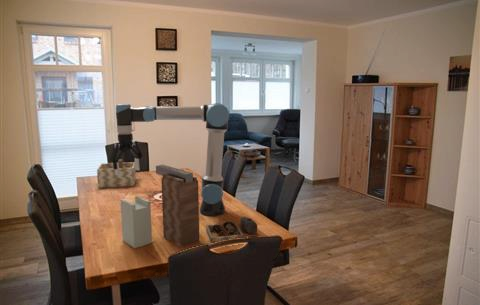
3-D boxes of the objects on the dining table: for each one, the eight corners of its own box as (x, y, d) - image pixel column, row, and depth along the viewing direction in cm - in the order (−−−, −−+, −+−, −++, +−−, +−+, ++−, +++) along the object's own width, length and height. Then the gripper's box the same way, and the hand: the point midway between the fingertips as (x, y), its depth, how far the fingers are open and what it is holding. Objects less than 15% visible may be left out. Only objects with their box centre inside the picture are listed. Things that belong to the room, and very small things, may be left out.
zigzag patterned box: (135, 178, 292) (135, 162, 289) (134, 185, 270) (133, 167, 267) (102, 180, 286) (101, 163, 283) (98, 187, 264) (97, 169, 261)
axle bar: (156, 173, 178) (155, 165, 177) (163, 172, 180) (162, 164, 180) (185, 182, 159) (185, 174, 158) (192, 181, 162) (192, 172, 161)
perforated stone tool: (237, 226, 187) (237, 213, 186) (246, 224, 189) (246, 212, 188) (248, 236, 174) (248, 223, 173) (258, 235, 176) (258, 221, 175)
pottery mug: (232, 231, 182) (237, 220, 177) (233, 246, 174) (238, 235, 169) (210, 227, 179) (214, 216, 175) (209, 242, 172) (213, 230, 167)
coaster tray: (235, 228, 185) (235, 222, 184) (243, 241, 169) (243, 235, 168) (206, 230, 181) (206, 225, 181) (211, 244, 165) (211, 238, 164)
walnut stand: (163, 237, 173) (161, 174, 168) (180, 231, 180) (178, 171, 175) (182, 247, 162) (180, 180, 157) (199, 241, 169) (198, 177, 163)
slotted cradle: (122, 240, 169) (120, 199, 166) (139, 235, 175) (137, 195, 172) (134, 248, 161) (132, 205, 157) (152, 242, 167) (150, 201, 163)
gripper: (138, 130, 198) (140, 167, 202) (100, 135, 177) (103, 176, 181) (147, 131, 194) (149, 168, 198) (109, 136, 173) (113, 178, 177)
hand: (127, 172), depth 189 cm, fingers open, 13 cm apart
